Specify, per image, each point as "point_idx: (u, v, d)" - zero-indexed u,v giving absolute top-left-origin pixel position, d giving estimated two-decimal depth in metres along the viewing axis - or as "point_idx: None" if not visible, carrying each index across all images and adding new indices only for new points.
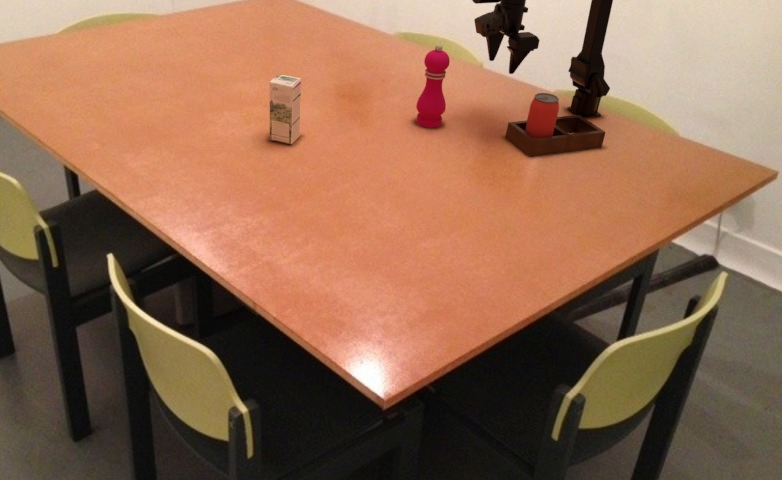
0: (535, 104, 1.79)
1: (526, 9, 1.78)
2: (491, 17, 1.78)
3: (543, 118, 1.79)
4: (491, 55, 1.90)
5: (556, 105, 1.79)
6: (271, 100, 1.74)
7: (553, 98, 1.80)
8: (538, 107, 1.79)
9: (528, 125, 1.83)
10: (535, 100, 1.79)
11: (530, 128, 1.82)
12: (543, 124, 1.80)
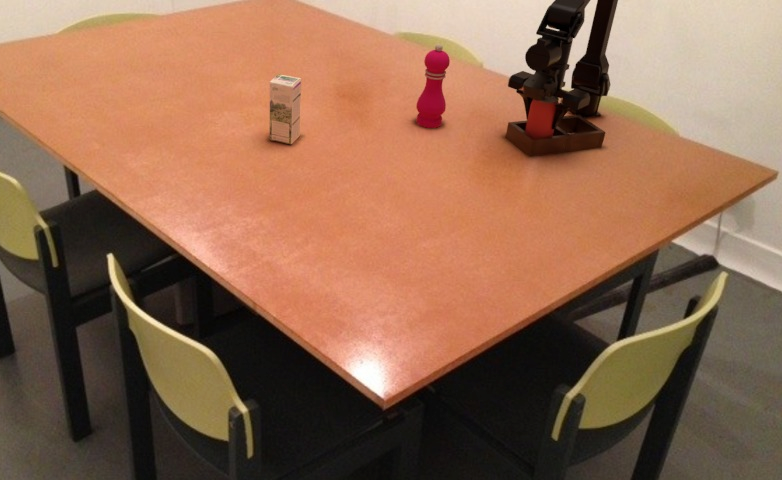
0: (535, 104, 1.79)
1: (568, 66, 1.76)
2: (541, 80, 1.73)
3: (543, 118, 1.79)
4: None
5: None
6: (271, 100, 1.74)
7: (553, 98, 1.80)
8: (538, 107, 1.79)
9: (528, 125, 1.83)
10: (535, 100, 1.79)
11: (530, 128, 1.82)
12: (543, 124, 1.80)
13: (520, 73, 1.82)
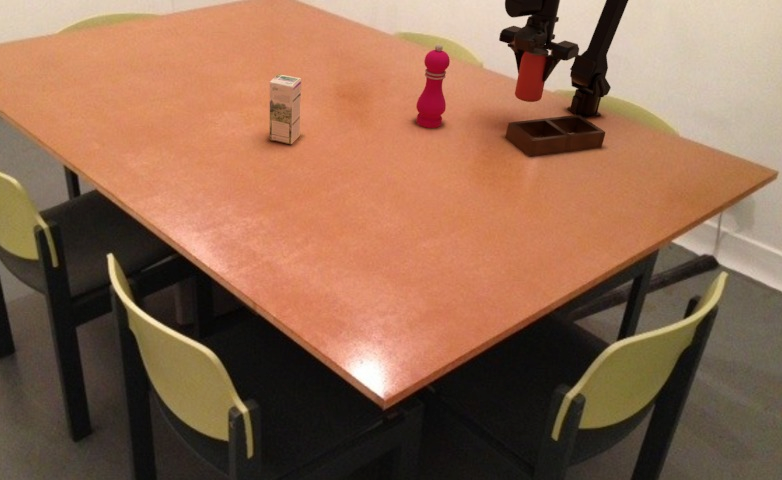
0: (526, 57, 1.84)
1: (557, 18, 1.80)
2: (531, 31, 1.78)
3: (533, 70, 1.84)
4: None
5: None
6: (271, 100, 1.74)
7: (543, 51, 1.85)
8: (529, 60, 1.83)
9: (519, 78, 1.87)
10: (526, 53, 1.84)
11: (522, 81, 1.87)
12: (534, 77, 1.85)
13: (511, 27, 1.87)
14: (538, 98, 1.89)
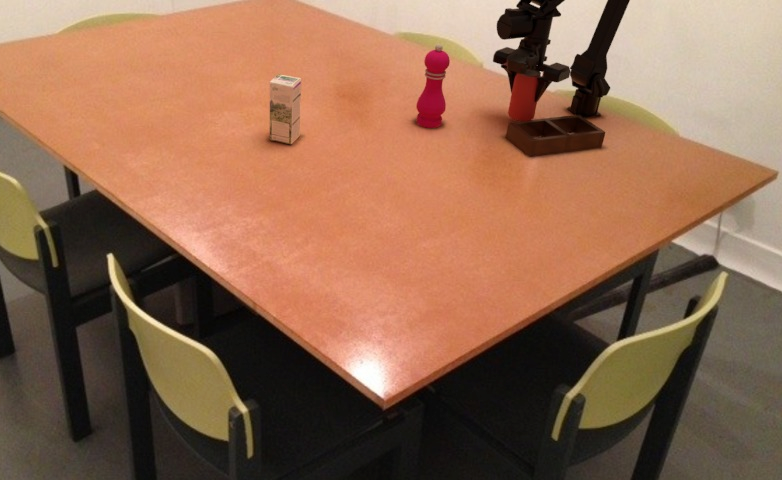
0: (518, 78, 1.89)
1: (549, 41, 1.85)
2: (523, 54, 1.83)
3: (526, 91, 1.89)
4: None
5: None
6: (271, 100, 1.74)
7: (536, 72, 1.90)
8: (521, 81, 1.88)
9: (512, 98, 1.92)
10: (518, 74, 1.89)
11: (514, 101, 1.92)
12: (527, 97, 1.90)
13: (504, 49, 1.92)
14: (530, 118, 1.93)
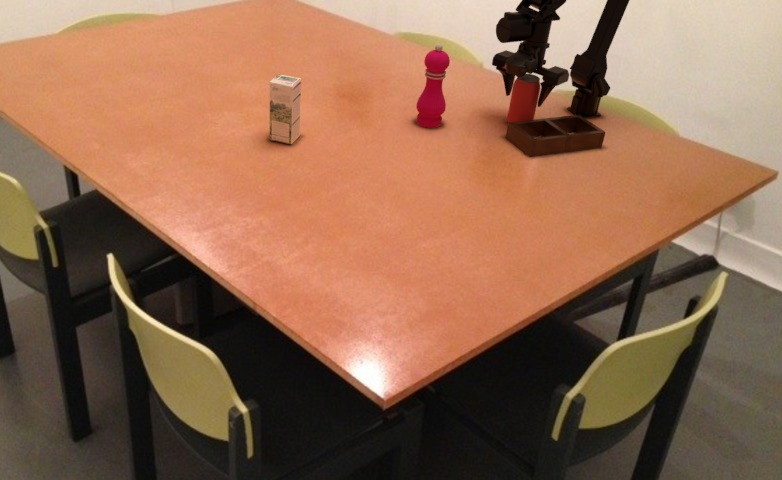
0: (517, 84, 1.90)
1: (548, 45, 1.86)
2: (522, 57, 1.83)
3: (525, 97, 1.90)
4: (508, 90, 1.95)
5: (537, 85, 1.89)
6: (271, 100, 1.74)
7: (535, 78, 1.91)
8: (520, 87, 1.89)
9: (511, 104, 1.93)
10: (517, 80, 1.90)
11: (513, 107, 1.93)
12: (526, 103, 1.91)
13: (503, 52, 1.92)
14: None
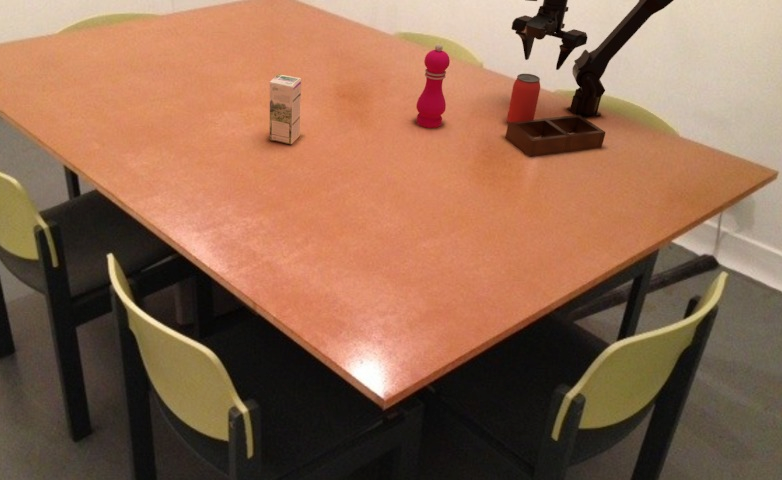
0: (517, 84, 1.90)
1: (567, 8, 1.91)
2: (542, 20, 1.88)
3: (525, 97, 1.90)
4: (527, 54, 2.00)
5: (537, 85, 1.89)
6: (271, 100, 1.74)
7: (535, 78, 1.91)
8: (520, 87, 1.89)
9: (511, 104, 1.93)
10: (517, 80, 1.90)
11: (513, 107, 1.93)
12: (526, 103, 1.91)
13: (523, 17, 1.98)
14: None
